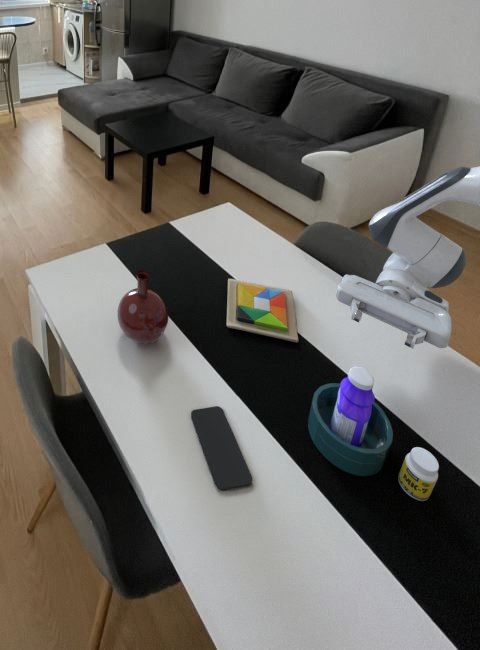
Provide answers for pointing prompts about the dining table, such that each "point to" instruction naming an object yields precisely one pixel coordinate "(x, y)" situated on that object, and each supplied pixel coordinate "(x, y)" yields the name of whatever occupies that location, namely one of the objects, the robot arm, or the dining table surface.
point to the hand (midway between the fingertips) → (381, 331)
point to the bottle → (353, 406)
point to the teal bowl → (341, 452)
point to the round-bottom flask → (142, 312)
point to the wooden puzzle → (261, 310)
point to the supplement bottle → (419, 473)
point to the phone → (221, 449)
